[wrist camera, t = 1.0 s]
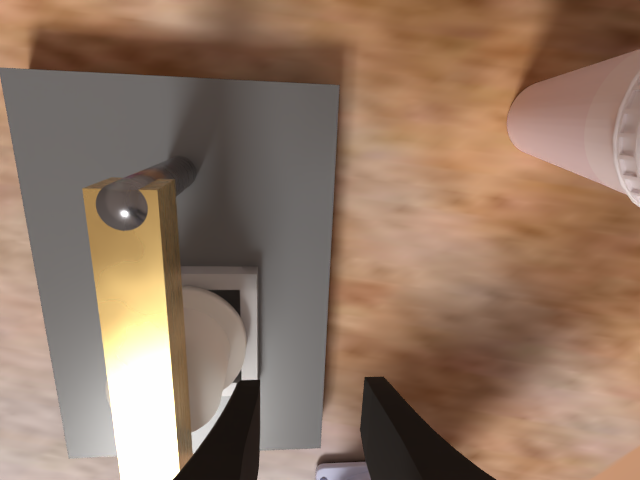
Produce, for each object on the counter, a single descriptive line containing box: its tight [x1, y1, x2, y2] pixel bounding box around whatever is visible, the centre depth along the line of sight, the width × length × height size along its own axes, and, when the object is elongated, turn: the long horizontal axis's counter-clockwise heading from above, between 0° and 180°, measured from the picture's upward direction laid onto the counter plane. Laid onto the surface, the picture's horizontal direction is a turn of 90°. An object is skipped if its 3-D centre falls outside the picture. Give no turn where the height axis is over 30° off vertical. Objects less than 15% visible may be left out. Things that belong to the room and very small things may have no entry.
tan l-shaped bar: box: [82, 156, 196, 480], centre depth 17 cm, size 15×2×7 cm, turn 178°
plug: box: [106, 286, 247, 433], centre depth 18 cm, size 6×6×5 cm
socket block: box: [0, 68, 340, 458], centre depth 21 cm, size 20×14×3 cm
